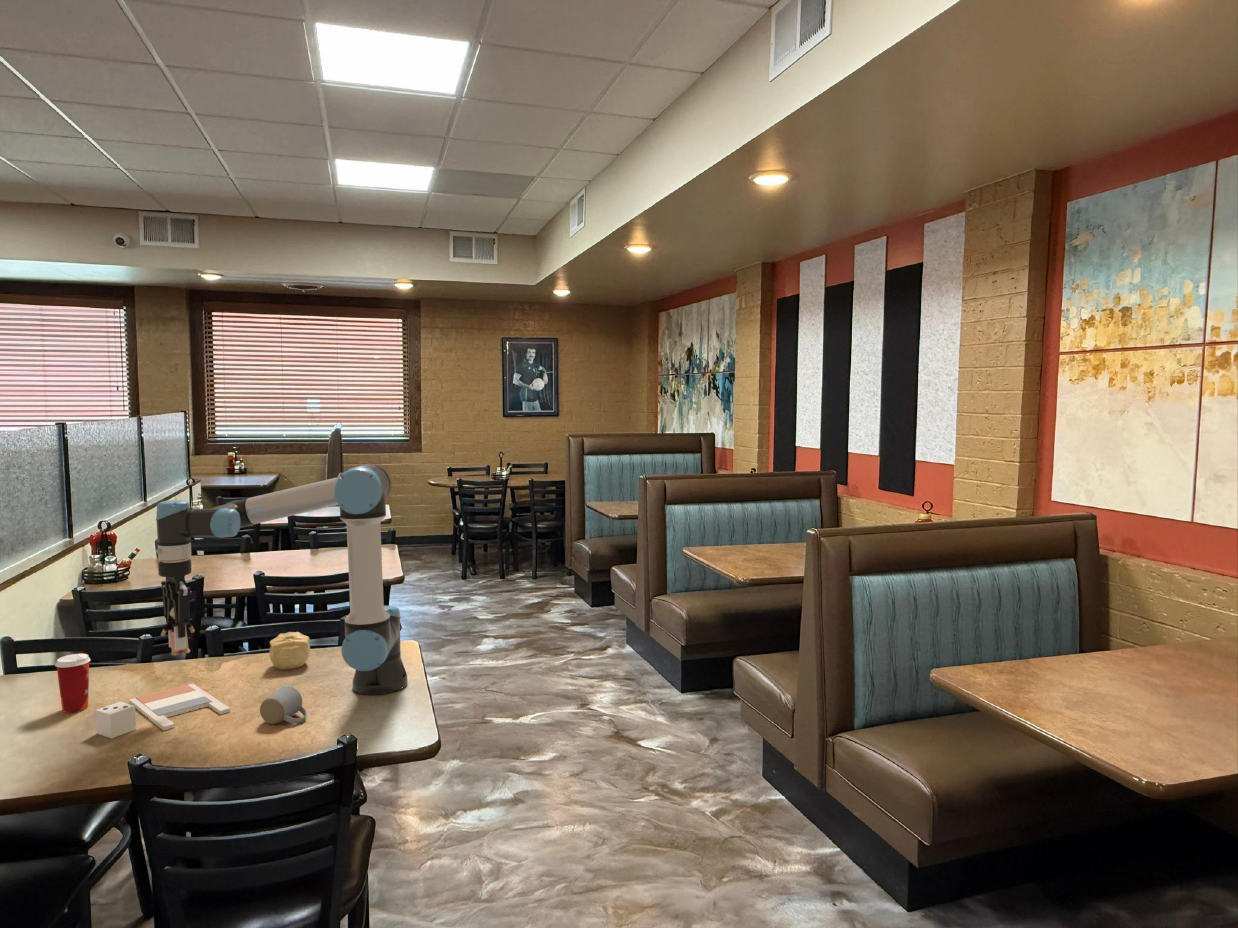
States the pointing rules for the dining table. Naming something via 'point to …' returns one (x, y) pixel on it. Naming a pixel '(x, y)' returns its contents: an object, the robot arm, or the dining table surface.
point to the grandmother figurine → (170, 627)
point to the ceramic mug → (283, 706)
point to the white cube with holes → (115, 719)
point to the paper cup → (73, 682)
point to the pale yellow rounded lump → (289, 650)
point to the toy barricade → (175, 704)
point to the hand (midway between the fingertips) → (177, 647)
